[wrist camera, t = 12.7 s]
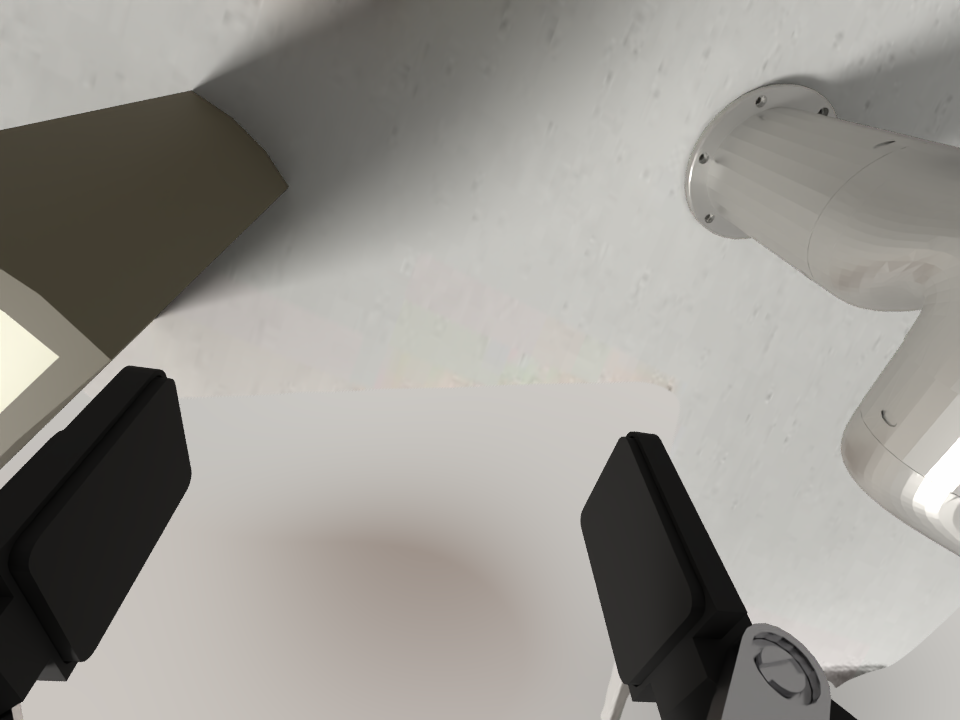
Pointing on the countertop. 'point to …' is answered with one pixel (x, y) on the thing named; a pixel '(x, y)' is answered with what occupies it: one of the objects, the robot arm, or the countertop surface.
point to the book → (109, 237)
